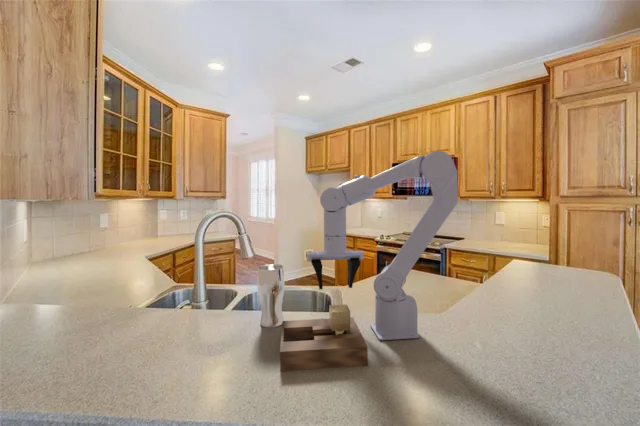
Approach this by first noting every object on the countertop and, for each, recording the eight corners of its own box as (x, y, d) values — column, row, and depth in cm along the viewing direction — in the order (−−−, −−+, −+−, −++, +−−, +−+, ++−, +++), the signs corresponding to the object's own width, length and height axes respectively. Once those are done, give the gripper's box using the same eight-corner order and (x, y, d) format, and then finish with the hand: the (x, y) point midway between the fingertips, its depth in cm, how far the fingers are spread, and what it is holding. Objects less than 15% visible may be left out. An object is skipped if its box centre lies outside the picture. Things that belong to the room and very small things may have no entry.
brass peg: (347, 342, 68) (346, 304, 67) (350, 351, 64) (350, 311, 63) (329, 343, 67) (329, 305, 67) (332, 352, 63) (331, 312, 63)
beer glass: (253, 326, 77) (251, 268, 76) (268, 315, 83) (267, 262, 82) (275, 331, 74) (274, 271, 73) (290, 320, 80) (289, 265, 79)
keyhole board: (353, 332, 72) (352, 317, 72) (367, 365, 58) (367, 346, 58) (282, 336, 71) (282, 321, 71) (280, 371, 57) (279, 351, 57)
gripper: (358, 232, 81) (359, 281, 82) (305, 233, 79) (306, 284, 80) (365, 236, 74) (365, 289, 75) (307, 237, 72) (308, 292, 73)
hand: (335, 287), depth 77 cm, fingers open, 7 cm apart
